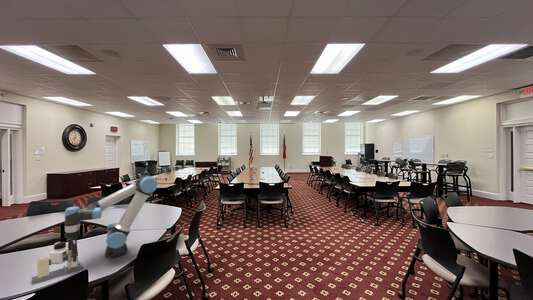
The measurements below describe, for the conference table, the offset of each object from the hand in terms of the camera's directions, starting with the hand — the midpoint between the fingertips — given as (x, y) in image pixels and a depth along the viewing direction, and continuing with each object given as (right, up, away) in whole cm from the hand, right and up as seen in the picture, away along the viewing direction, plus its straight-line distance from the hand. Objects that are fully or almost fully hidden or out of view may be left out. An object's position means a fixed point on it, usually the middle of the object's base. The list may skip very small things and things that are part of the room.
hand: (72, 262), depth 153 cm
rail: (-5, -5, -5) cm, 9 cm away
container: (-20, -5, +13) cm, 24 cm away
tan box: (0, -3, 0) cm, 3 cm away
